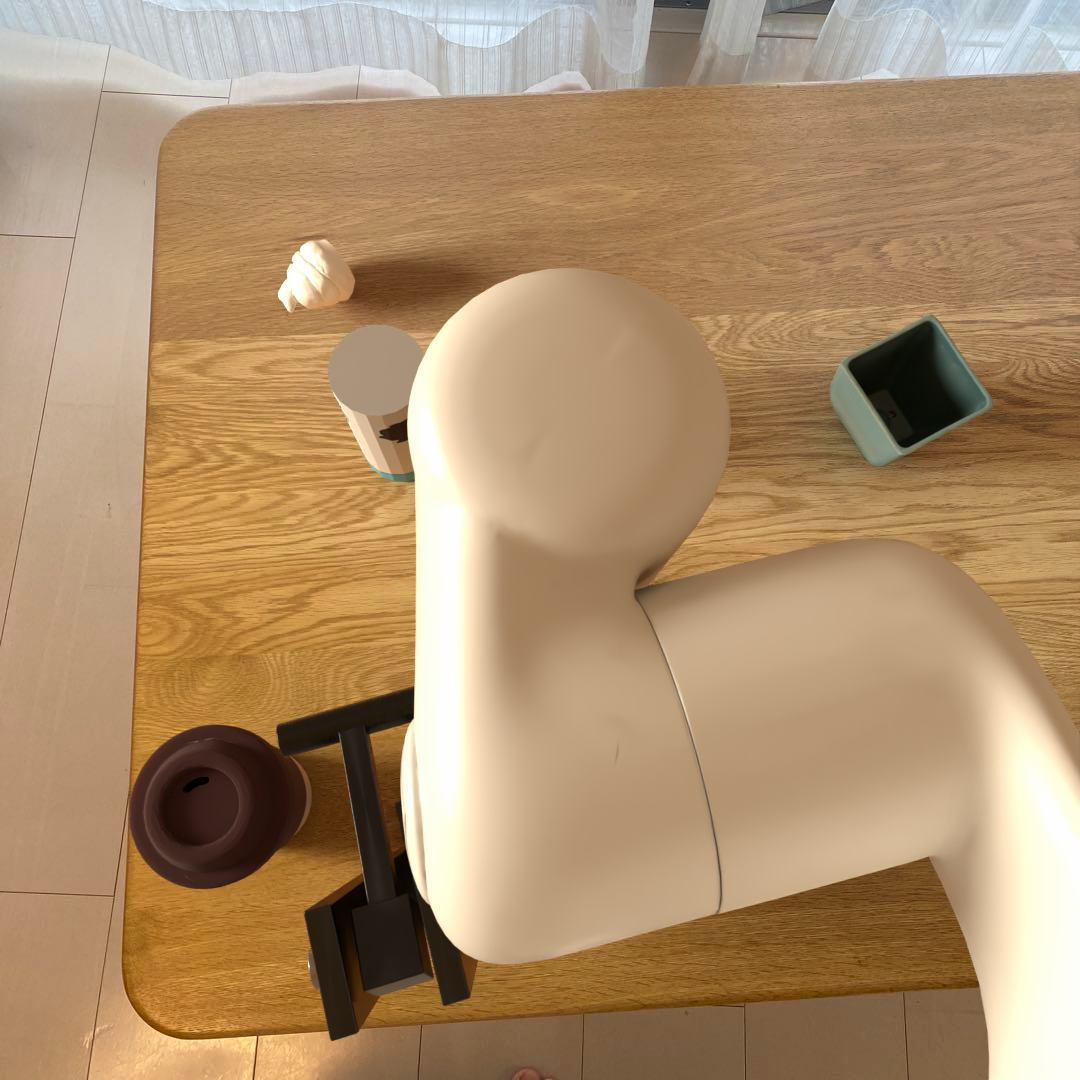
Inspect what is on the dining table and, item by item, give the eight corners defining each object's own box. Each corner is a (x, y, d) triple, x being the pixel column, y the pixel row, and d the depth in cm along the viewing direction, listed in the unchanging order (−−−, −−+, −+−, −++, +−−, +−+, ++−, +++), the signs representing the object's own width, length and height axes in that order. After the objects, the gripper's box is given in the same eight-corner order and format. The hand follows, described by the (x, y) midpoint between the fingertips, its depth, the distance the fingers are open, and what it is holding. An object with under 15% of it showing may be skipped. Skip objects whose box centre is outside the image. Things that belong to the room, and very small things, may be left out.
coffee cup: (315, 877, 70) (261, 905, 55) (185, 855, 70) (97, 878, 55) (342, 743, 72) (298, 737, 58) (217, 723, 72) (141, 711, 58)
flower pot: (859, 492, 78) (902, 457, 69) (803, 405, 80) (838, 360, 71) (946, 445, 79) (998, 405, 70) (888, 360, 81) (933, 311, 72)
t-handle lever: (287, 734, 40) (270, 715, 38) (423, 696, 41) (413, 675, 39) (327, 1012, 35) (309, 1008, 33) (483, 964, 35) (476, 957, 33)
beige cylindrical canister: (460, 445, 78) (447, 372, 64) (400, 498, 77) (372, 435, 62) (407, 390, 79) (382, 305, 65) (346, 441, 78) (307, 366, 64)
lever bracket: (396, 802, 71) (258, 840, 34) (484, 776, 72) (446, 785, 34) (428, 937, 69) (319, 1139, 31) (519, 909, 70) (519, 1075, 32)
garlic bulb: (271, 296, 81) (253, 263, 76) (325, 256, 82) (312, 221, 77) (309, 340, 80) (294, 310, 75) (364, 299, 81) (353, 267, 76)
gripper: (345, 366, 33) (402, 496, 50) (572, 817, 30) (552, 794, 47) (533, 280, 34) (527, 436, 51) (773, 708, 31) (682, 724, 47)
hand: (539, 607), depth 49 cm, fingers open, 9 cm apart
